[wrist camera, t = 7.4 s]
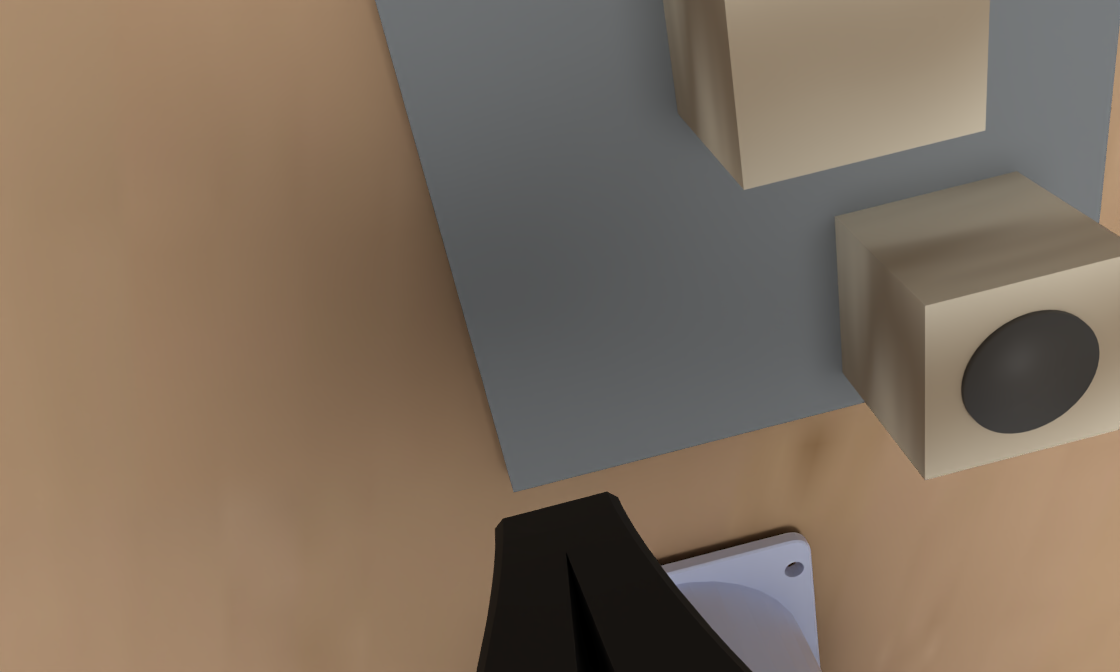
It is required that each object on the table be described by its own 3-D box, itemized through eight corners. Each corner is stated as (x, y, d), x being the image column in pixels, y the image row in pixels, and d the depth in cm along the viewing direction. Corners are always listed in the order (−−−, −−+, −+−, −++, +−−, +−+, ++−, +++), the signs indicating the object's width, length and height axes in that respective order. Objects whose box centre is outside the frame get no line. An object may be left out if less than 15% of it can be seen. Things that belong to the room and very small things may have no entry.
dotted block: (1008, 330, 23) (1124, 434, 19) (842, 372, 23) (928, 484, 19) (1016, 170, 21) (1147, 254, 17) (834, 216, 21) (929, 310, 17)
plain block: (876, 65, 19) (984, 130, 16) (678, 113, 19) (743, 189, 16) (871, -161, 17) (995, -142, 14) (648, -109, 17) (716, -77, 14)
